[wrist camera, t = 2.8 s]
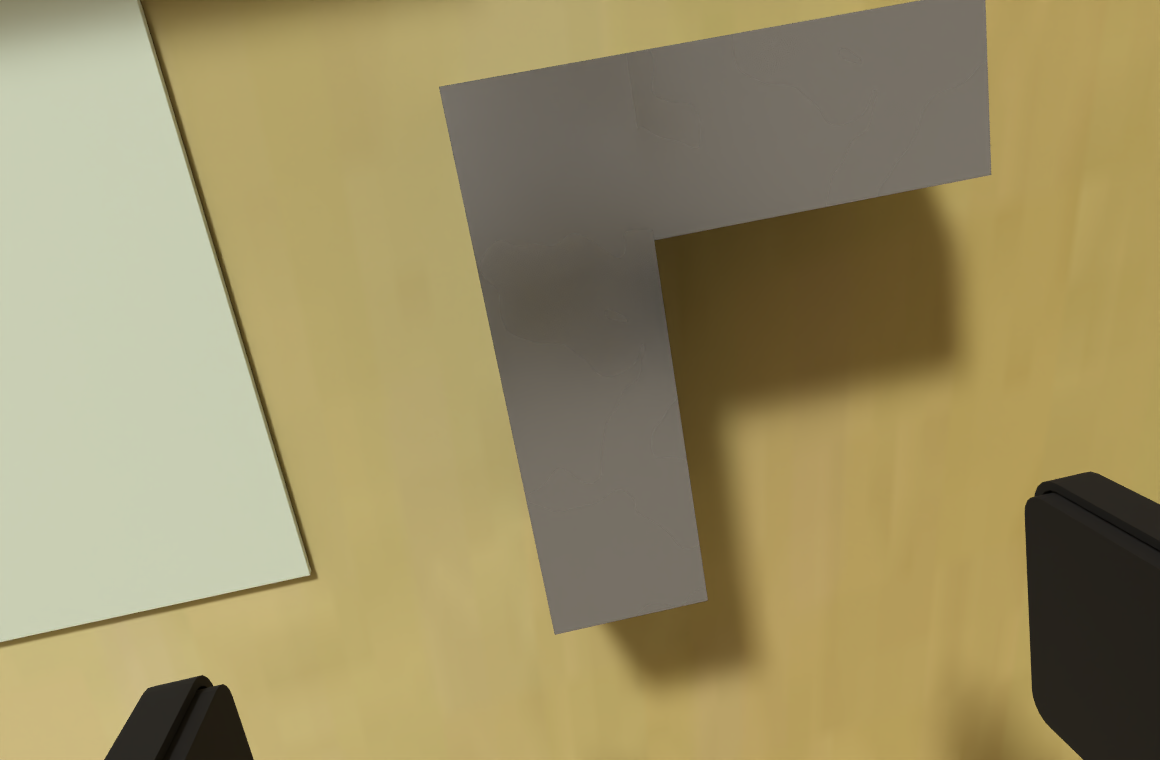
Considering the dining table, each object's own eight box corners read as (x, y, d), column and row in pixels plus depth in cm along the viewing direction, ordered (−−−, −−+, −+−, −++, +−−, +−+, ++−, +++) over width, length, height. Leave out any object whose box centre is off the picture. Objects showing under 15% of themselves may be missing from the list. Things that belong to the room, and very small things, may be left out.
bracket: (447, 98, 18) (439, 86, 14) (855, 24, 19) (984, -11, 14) (535, 521, 21) (554, 634, 16) (887, 446, 22) (1003, 534, 17)
